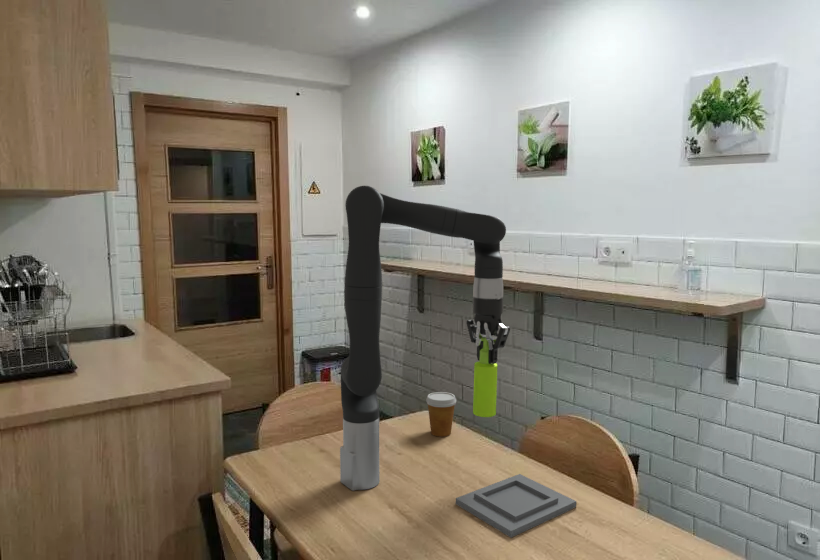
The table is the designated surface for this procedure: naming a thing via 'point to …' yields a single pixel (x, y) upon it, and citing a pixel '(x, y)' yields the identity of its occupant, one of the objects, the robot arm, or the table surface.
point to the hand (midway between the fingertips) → (487, 361)
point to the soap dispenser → (485, 384)
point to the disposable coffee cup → (441, 412)
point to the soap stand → (515, 504)
